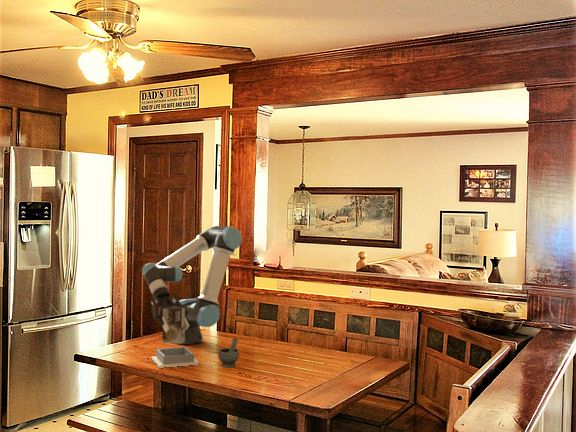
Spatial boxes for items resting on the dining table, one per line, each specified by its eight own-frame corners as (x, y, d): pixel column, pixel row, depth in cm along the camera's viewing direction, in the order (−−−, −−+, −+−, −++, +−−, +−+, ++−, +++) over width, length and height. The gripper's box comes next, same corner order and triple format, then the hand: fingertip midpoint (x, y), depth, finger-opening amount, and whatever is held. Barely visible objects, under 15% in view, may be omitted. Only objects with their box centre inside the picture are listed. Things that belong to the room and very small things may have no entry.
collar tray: (188, 356, 293) (189, 346, 293) (198, 365, 277) (199, 354, 277) (151, 359, 286) (151, 348, 286) (159, 368, 270) (159, 357, 270)
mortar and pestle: (230, 369, 270) (230, 342, 270) (213, 366, 275) (214, 340, 275) (245, 364, 280) (245, 338, 280) (228, 361, 285) (228, 335, 285)
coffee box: (185, 341, 284) (185, 306, 284) (181, 344, 277) (182, 308, 277) (166, 340, 285) (166, 305, 285) (161, 343, 278) (162, 308, 278)
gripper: (176, 294, 300) (194, 330, 289) (135, 298, 284) (152, 336, 273) (183, 284, 296) (201, 321, 285) (141, 287, 280) (159, 326, 269)
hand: (177, 329), depth 279 cm, fingers closed on coffee box, 10 cm apart
